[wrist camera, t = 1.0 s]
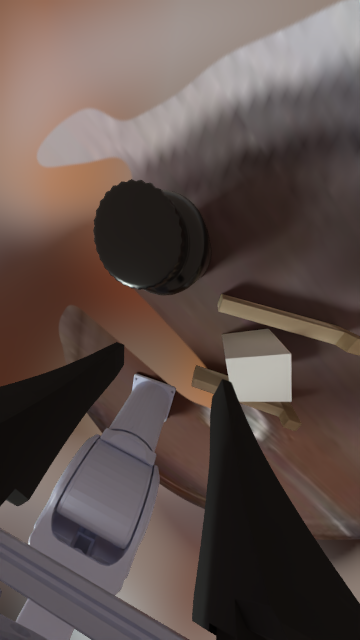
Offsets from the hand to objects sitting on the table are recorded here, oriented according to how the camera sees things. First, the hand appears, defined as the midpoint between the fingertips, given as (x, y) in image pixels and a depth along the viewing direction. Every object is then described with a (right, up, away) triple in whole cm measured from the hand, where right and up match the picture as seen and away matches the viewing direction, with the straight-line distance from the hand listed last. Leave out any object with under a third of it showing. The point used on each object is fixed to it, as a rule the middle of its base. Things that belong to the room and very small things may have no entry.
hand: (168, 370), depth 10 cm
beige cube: (+10, -1, +11) cm, 15 cm away
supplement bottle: (+1, +12, +8) cm, 14 cm away
